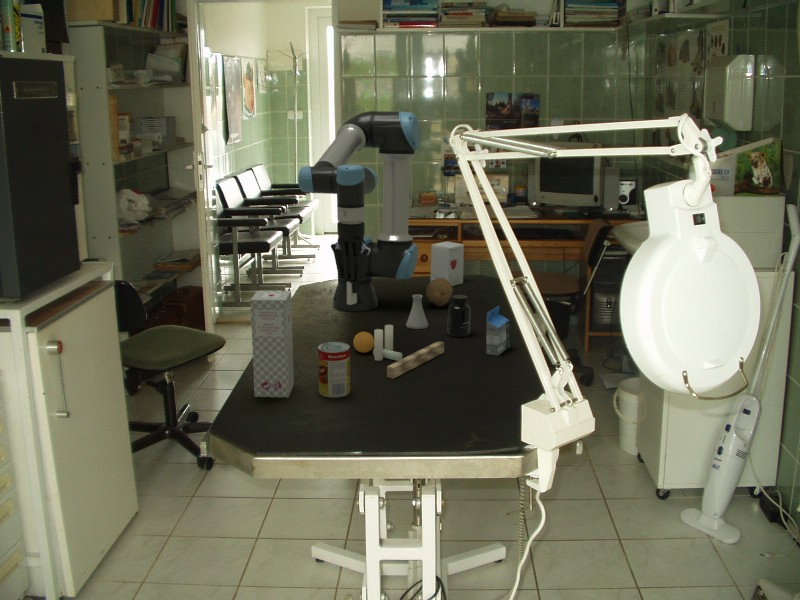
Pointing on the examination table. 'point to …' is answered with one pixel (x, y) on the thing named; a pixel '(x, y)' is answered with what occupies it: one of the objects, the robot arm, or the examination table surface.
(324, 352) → the canned food
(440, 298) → the natural sponge
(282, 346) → the box
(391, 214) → the robot arm
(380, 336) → the pin
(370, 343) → the ball
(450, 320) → the supplement bottle
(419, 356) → the wooden bar
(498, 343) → the label tape box
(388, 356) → the front pin
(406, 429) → the examination table surface
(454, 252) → the supplement box
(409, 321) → the flask
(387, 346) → the pin
